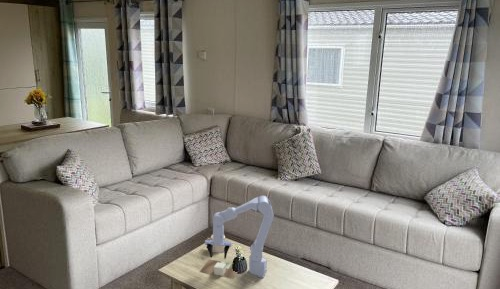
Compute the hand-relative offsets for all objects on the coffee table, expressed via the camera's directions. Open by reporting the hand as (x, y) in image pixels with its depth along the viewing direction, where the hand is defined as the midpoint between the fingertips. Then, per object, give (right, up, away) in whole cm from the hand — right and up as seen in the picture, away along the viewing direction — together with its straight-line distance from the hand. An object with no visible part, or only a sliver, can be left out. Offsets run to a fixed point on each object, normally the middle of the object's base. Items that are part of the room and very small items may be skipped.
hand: (218, 257), depth 219 cm
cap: (+1, -9, 0) cm, 9 cm away
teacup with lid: (-4, -3, +26) cm, 27 cm away
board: (+1, -9, +5) cm, 10 cm away
